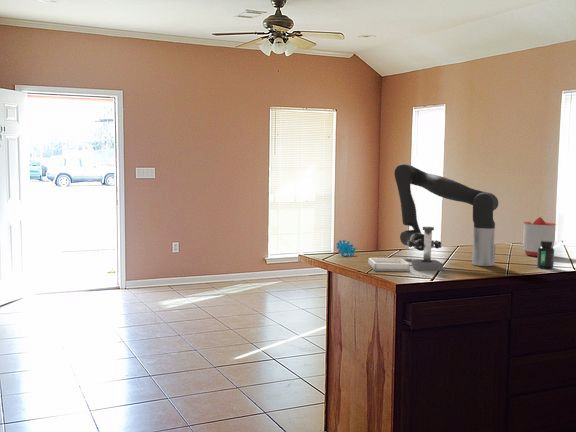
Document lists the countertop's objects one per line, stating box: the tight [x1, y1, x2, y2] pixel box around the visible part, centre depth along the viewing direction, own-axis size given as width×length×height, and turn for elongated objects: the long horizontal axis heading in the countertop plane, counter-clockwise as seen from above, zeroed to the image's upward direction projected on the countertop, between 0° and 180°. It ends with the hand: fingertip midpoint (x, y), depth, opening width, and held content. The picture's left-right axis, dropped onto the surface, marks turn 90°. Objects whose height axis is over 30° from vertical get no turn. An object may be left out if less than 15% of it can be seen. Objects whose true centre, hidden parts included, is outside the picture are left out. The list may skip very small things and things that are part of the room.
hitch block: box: [410, 258, 444, 272], centre depth 271 cm, size 11×11×3 cm
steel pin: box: [422, 226, 435, 262], centre depth 270 cm, size 5×5×18 cm
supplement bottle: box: [536, 241, 555, 270], centre depth 279 cm, size 7×7×12 cm
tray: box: [367, 257, 411, 272], centre depth 270 cm, size 15×17×3 cm
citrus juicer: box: [522, 216, 557, 257], centre depth 319 cm, size 16×17×20 cm
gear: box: [335, 239, 358, 258], centre depth 305 cm, size 11×6×10 cm
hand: (428, 246), depth 269 cm, fingers open, 8 cm apart
